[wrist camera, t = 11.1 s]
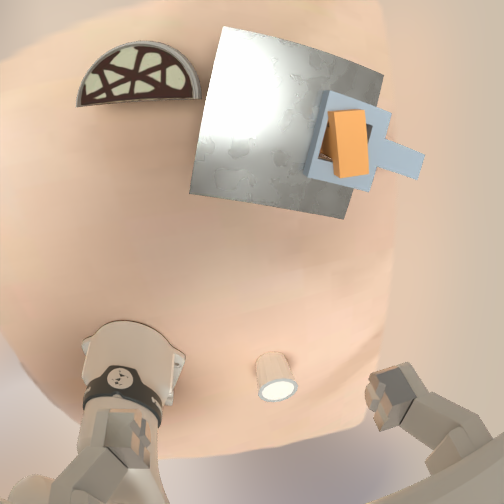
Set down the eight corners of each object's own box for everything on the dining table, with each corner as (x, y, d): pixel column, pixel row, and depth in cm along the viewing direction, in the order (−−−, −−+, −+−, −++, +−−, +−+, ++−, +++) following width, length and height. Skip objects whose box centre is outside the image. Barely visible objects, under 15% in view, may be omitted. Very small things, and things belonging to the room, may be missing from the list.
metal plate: (314, 191, 41) (343, 219, 32) (193, 170, 37) (189, 193, 28) (343, 77, 34) (383, 75, 25) (218, 45, 30) (223, 26, 21)
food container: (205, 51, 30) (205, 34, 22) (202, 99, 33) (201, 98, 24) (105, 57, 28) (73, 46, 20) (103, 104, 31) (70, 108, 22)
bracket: (398, 195, 33) (412, 204, 30) (298, 170, 30) (307, 177, 28) (418, 128, 29) (434, 132, 27) (318, 90, 27) (329, 90, 24)
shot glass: (256, 348, 53) (263, 379, 46) (293, 349, 54) (303, 378, 48) (249, 373, 56) (254, 402, 49) (283, 373, 57) (291, 401, 51)
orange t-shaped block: (334, 156, 34) (369, 174, 27) (310, 159, 34) (340, 178, 26) (329, 105, 31) (364, 109, 24) (304, 108, 31) (333, 112, 24)
